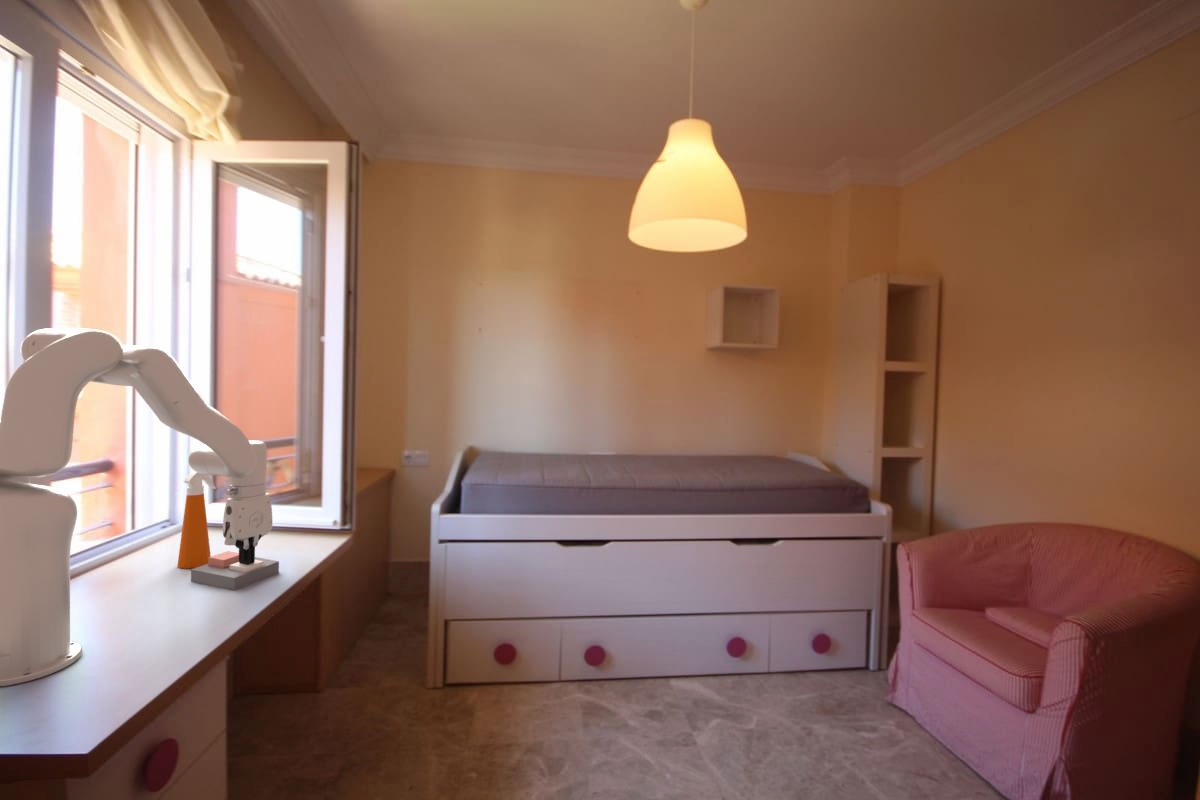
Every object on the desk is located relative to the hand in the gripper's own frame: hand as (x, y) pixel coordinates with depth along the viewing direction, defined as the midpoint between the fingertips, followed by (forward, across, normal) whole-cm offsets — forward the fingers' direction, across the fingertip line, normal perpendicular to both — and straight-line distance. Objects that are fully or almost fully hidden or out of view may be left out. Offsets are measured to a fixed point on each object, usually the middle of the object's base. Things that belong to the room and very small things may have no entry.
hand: (246, 562), depth 128 cm
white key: (+3, 0, 0) cm, 3 cm away
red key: (+2, 0, +7) cm, 7 cm away
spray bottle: (+4, +4, +22) cm, 22 cm away
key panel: (+4, 0, +4) cm, 5 cm away
